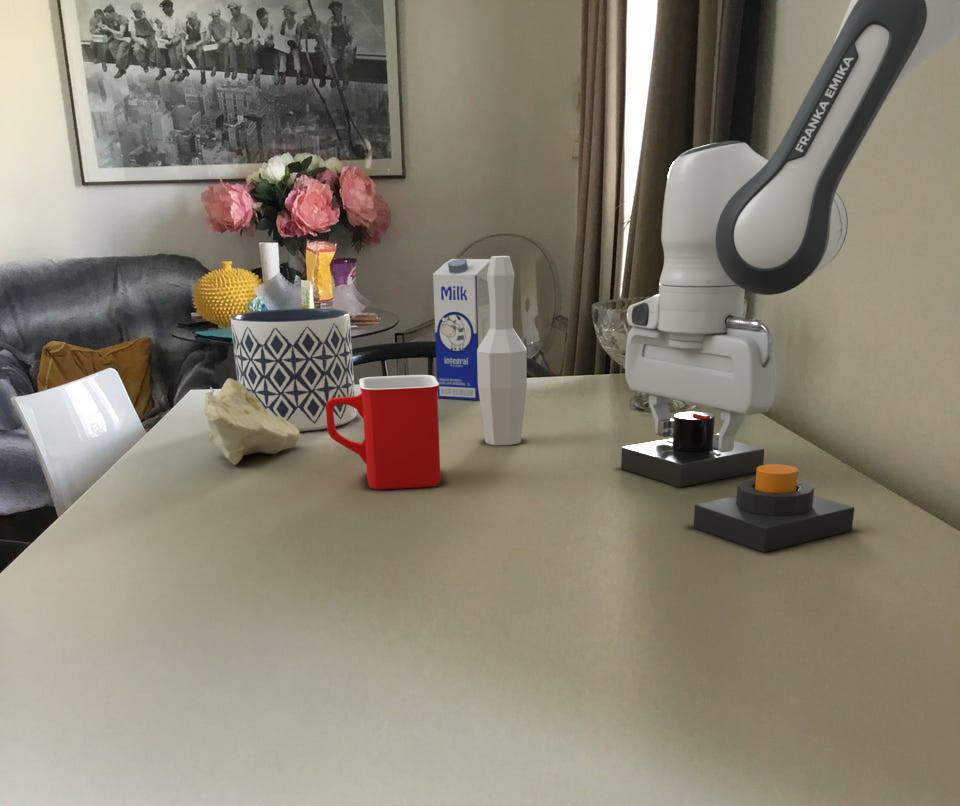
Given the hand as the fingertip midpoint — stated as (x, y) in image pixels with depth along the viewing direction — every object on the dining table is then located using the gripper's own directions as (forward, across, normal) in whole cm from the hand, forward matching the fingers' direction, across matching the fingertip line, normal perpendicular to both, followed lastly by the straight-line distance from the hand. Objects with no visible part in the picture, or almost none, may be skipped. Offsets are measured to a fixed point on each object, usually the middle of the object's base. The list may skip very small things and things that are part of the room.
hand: (692, 442), depth 116 cm
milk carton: (+3, +56, -4) cm, 56 cm away
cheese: (+3, +34, +39) cm, 52 cm away
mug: (+3, +16, +30) cm, 34 cm away
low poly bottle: (+3, +25, +9) cm, 27 cm away
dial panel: (+3, 0, 0) cm, 3 cm away
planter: (+3, +53, +25) cm, 59 cm away
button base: (+3, -21, +9) cm, 23 cm away
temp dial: (0, 0, 0) cm, 0 cm away
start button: (-1, -21, +9) cm, 23 cm away
